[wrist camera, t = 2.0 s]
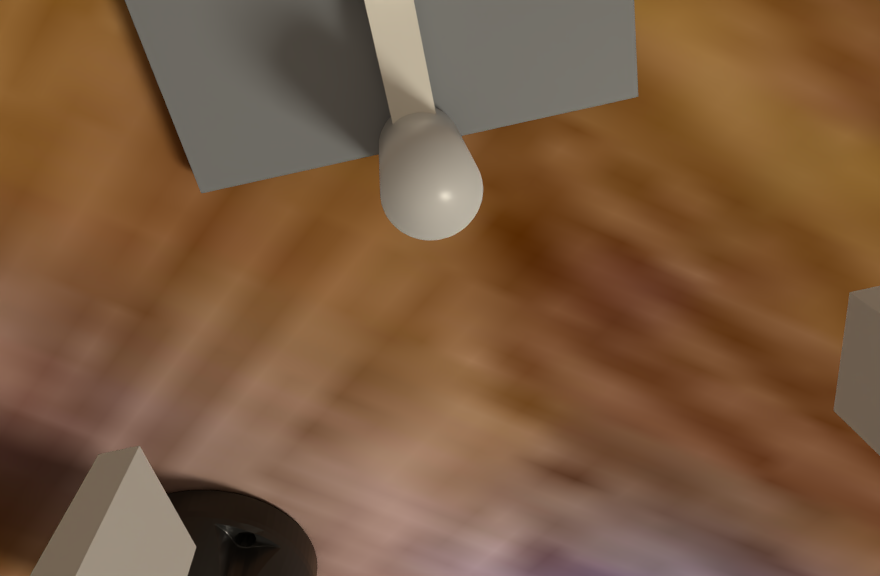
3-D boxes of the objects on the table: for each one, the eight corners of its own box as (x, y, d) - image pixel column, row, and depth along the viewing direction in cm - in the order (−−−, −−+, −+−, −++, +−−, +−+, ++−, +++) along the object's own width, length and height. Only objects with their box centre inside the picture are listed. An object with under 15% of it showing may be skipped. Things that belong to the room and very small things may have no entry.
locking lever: (232, -218, 23) (182, -285, 17) (441, -265, 23) (465, -348, 17) (350, 202, 31) (345, 260, 25) (505, 167, 31) (538, 217, 25)
